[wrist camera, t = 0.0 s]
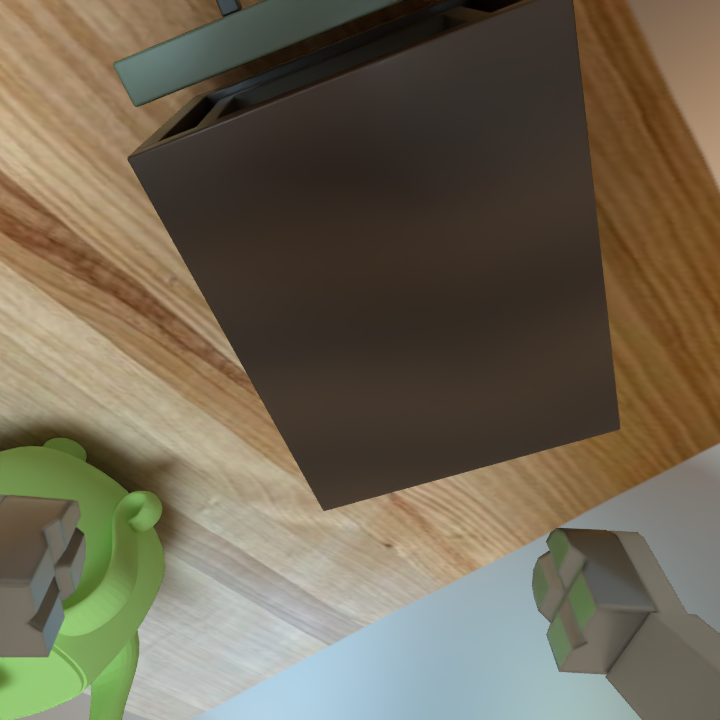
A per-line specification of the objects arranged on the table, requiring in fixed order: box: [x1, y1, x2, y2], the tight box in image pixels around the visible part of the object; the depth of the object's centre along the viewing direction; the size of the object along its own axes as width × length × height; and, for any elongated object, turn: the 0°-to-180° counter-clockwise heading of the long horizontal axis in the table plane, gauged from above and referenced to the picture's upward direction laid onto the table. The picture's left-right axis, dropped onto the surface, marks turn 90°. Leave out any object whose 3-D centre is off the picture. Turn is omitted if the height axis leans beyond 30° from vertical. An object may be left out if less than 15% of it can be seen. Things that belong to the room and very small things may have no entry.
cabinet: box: [128, 0, 620, 511], centre depth 23 cm, size 16×13×10 cm
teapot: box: [0, 438, 165, 720], centre depth 32 cm, size 16×14×13 cm
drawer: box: [113, 0, 489, 127], centre depth 21 cm, size 20×11×8 cm, turn 19°
